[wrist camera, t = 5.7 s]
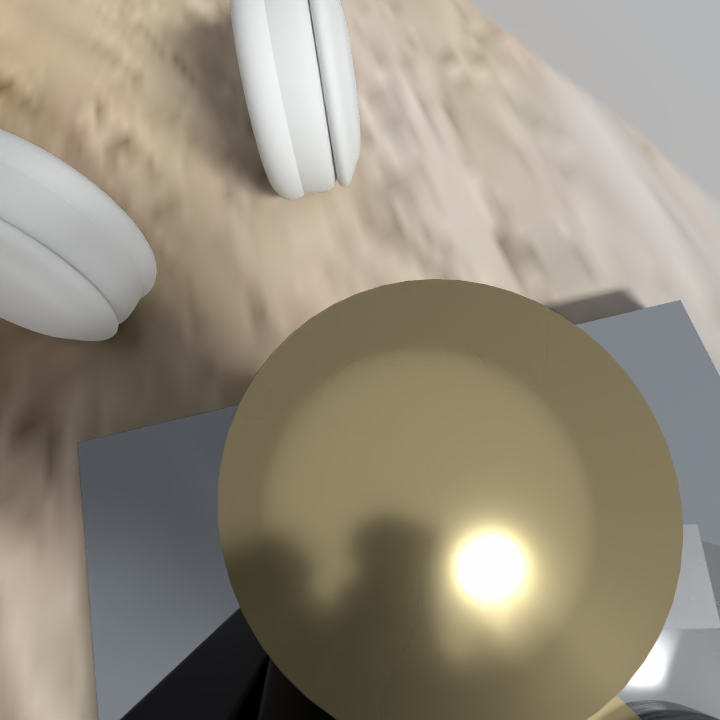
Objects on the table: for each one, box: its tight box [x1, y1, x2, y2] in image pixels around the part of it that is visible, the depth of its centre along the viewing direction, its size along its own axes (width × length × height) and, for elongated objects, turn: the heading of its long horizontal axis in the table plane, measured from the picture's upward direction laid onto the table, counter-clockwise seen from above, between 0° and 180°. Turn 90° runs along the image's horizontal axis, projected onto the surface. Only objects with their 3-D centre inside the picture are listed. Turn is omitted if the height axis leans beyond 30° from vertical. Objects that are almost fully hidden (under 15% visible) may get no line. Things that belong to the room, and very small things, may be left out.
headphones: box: [0, 0, 360, 341], centre depth 21 cm, size 7×18×20 cm
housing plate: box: [78, 300, 720, 720], centre depth 15 cm, size 20×20×2 cm
